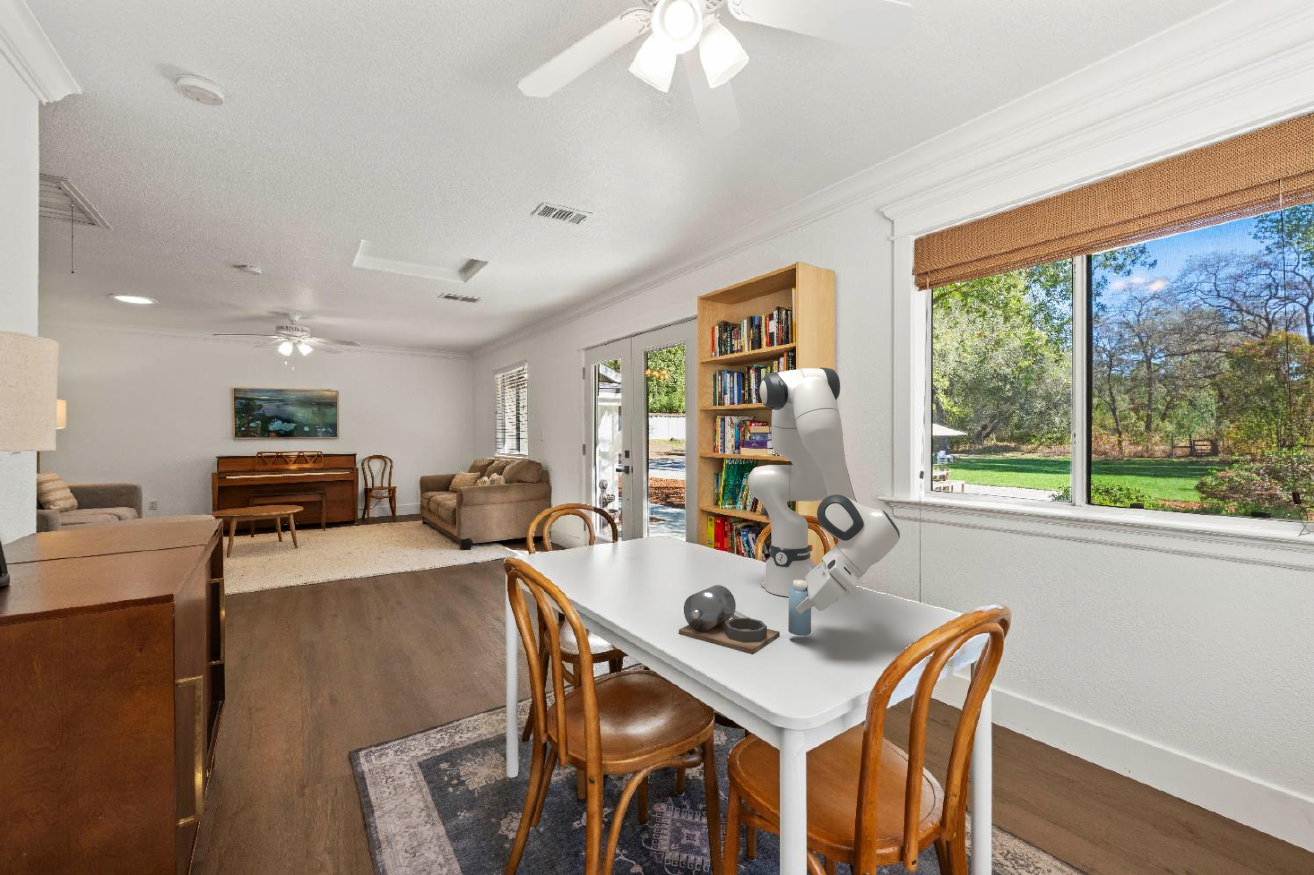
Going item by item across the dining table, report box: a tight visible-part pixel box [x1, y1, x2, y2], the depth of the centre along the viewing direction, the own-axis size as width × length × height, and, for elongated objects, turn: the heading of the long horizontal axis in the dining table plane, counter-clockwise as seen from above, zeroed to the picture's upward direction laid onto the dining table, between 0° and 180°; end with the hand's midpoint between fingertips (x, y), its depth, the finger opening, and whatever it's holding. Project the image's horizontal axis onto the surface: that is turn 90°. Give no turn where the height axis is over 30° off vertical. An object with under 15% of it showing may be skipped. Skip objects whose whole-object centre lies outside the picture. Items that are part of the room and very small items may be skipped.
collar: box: [725, 617, 768, 643], centre depth 132 cm, size 9×9×2 cm
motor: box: [683, 584, 737, 632], centre depth 137 cm, size 12×9×9 cm
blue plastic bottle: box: [787, 579, 812, 637], centre depth 131 cm, size 5×5×12 cm
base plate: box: [678, 619, 780, 655], centre depth 135 cm, size 14×20×1 cm
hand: (797, 606), depth 131 cm, fingers closed on blue plastic bottle, 5 cm apart
